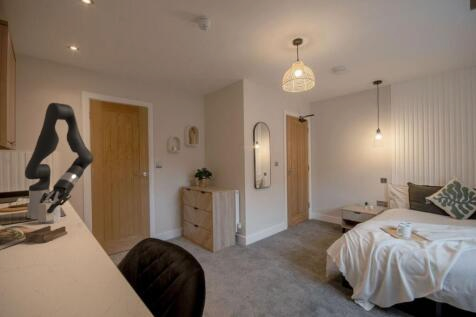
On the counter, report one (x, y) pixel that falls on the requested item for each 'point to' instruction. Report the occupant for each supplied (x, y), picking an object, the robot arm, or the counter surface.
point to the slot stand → (45, 234)
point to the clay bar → (45, 212)
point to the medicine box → (55, 216)
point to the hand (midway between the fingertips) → (44, 212)
